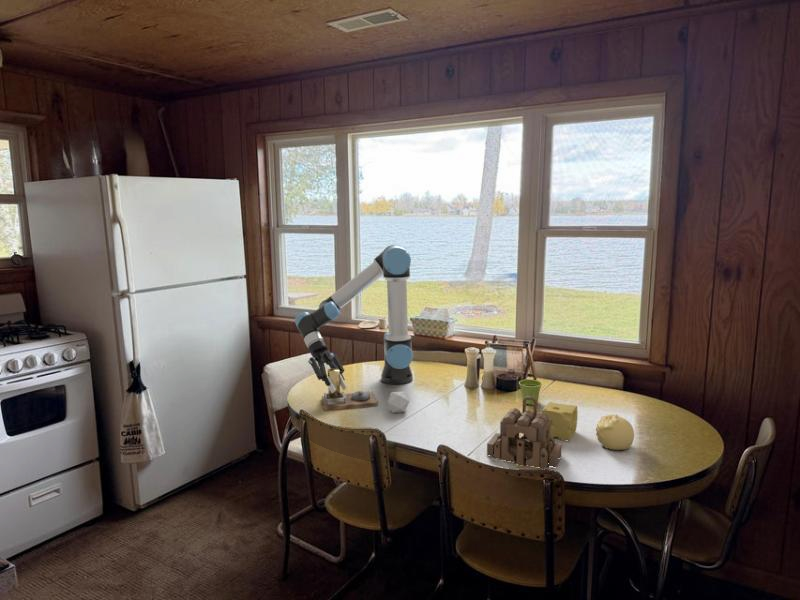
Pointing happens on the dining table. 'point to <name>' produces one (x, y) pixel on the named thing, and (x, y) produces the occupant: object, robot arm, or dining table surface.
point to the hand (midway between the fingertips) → (339, 389)
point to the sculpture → (615, 432)
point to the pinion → (334, 381)
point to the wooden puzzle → (525, 438)
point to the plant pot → (530, 389)
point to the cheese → (562, 419)
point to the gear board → (349, 400)
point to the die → (398, 402)
